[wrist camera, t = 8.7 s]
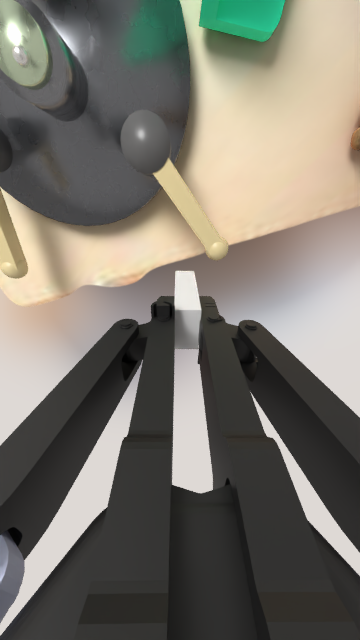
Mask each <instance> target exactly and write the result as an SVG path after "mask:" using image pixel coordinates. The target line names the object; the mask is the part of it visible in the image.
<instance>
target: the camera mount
mask: <svg viewBox="0 0 360 640" xmlns="http://www.w3.org/2000/svg"><path fill="white" fill-rule="evenodd" d="M284 3H285V0H202V6H201V13H200V21H199V26H200V27H204V28H208V29H212V30H216V31H220V32H224V33H228V34H232V35H236V36H240V37H244V38H248V39H252V40H256V41H260V42H264V41H266V40H268V39H269V38H270V37H271V35H272V34H273V32H274V30H275V29H276V27H277V25H278V23H279V21H280V19H281V15H282V11H283V7H284Z"/></svg>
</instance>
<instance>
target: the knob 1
mask: <svg viewBox="0 0 360 640" xmlns="http://www.w3.org/2000/svg"><path fill="white" fill-rule="evenodd" d="M12 160H13V153H12V148H11V145H10V143H9V140H8V139H7V137H6V135H5V134H4V133H3V131H2V130H1V129H0V172H4V171H6V170H7V169H9V167H10V166H11V164H12ZM0 269H1V270H2V272H3V273H4V274H5V275H7V276H8V277H11V278H22V277H24V276H25V275H26V274H27V272H28V266H27V262H26V259H25V256H24V254H23V251H22V248H21V245H20V242H19V240H18V237H17V234H16V231H15V228H14V226H13V223H12V220H11V217H10V214H9V212H8V209H7V206H6V203H5V200H4V198H3V195H2V192H1V189H0Z"/></svg>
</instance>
